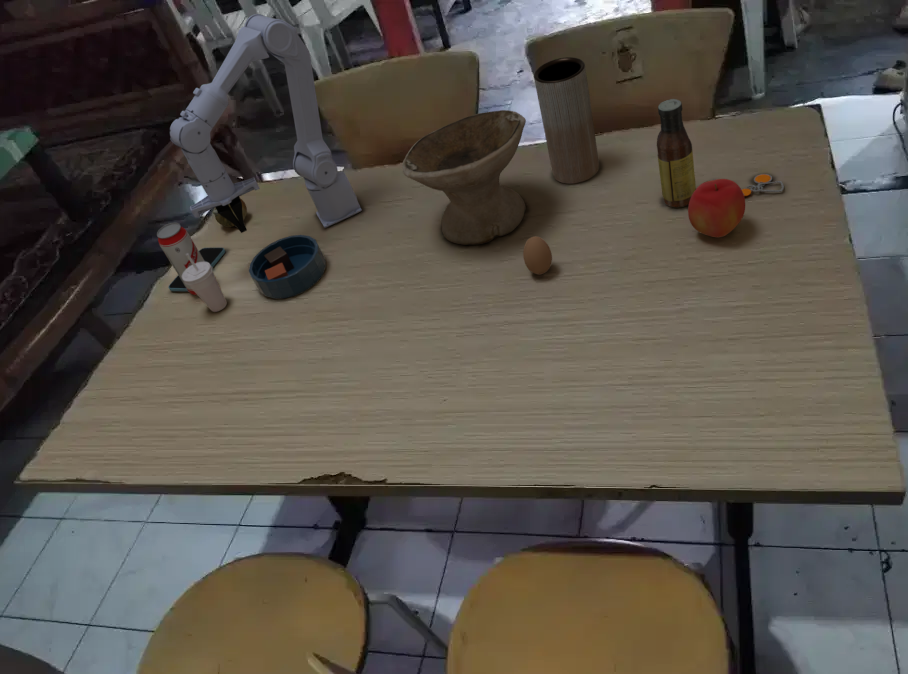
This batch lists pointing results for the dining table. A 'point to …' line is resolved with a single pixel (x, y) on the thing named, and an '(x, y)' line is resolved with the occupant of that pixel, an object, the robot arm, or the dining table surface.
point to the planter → (567, 119)
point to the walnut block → (279, 258)
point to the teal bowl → (300, 278)
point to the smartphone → (208, 255)
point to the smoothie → (204, 284)
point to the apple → (716, 207)
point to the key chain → (761, 180)
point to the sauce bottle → (675, 156)
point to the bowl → (471, 174)
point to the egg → (537, 255)
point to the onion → (226, 222)
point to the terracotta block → (276, 272)
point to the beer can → (178, 248)
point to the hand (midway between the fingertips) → (243, 229)
